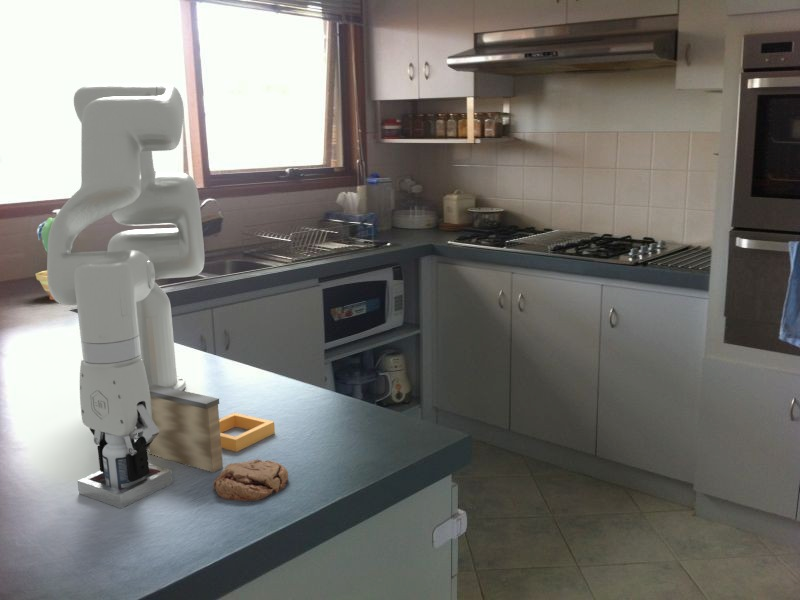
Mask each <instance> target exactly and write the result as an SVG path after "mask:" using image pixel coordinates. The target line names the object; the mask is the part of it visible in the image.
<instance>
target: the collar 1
mask: <svg viewBox="0 0 800 600" xmlns="http://www.w3.org/2000/svg"><path fill="white" fill-rule="evenodd" d="M172 472H173V471H172V469H169V468H167V467H166V468H165V467H163V466H159V465H155V464H152V463H149V474H148V475H146V476H145V479H144V480H142V481H140V482H137V483H135V484H133V485H131V486H129V487H127V488H125V489H123V490H119V489H116V488H113V487H110V486H107V485H106V480H105V472H101V471H100V470H99V471H96V472H94V473H91V474H90V475H87V476H85V477H82V478H80V479H78V480H77V486H78V494H79V495H81V496H85V497H87V498H90V499H93V500H96V501H99V502H101V503H104V504H107V505H110V506H113V507H115V508H118V509H123V508H125V507H127V506H130V505H131V504H133V503H135V502H137V501H139V500H141V499H143V498H146V497H148V496H149V495H151V494H154V493H155V492H157V491H160V490H162V489H164V488H165V487H166V488H167V487H168V486H170V485H172V484H173V483H174V481H173V473H172Z"/></svg>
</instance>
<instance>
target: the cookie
mask: <svg viewBox="0 0 800 600" xmlns="http://www.w3.org/2000/svg"><path fill="white" fill-rule="evenodd" d="M287 482H289V472H288V470H287V468H286V467H284V465H282V464H281V463H278V462H275V461H271V460H268V459H267V460H264V461H262V460H261V459H253V460H248V461H244V462H234V463H230V464H227V465H226V466H225V467H223V470H222V471H221V472H220V473H219V474H218V476H217V477H216V478H215V480H214V481H213V484H212V487H213V490H215V491H216V493H217V496H219V497H220V498H221V497H222V499H224V500H230V501H237V502H238V501H241V502H245V501H246V502H247V501H248V502H253V501H254V502H255V501H261V500H263V499H266V498H267V497H268V496H270V495H272V494H274V493H278V492H279V491H282V490H283V489H285V488H286V484H287Z"/></svg>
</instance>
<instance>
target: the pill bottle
mask: <svg viewBox="0 0 800 600" xmlns="http://www.w3.org/2000/svg"><path fill="white" fill-rule="evenodd" d="M136 435H137V434H135V435H132V436H133V439H134V442H136V441H137V439H136ZM105 440H106V442H107V443H108V444H107V445H106V446H105V447H104V448H103V451H102V453H103V464H104V472H105V480H106V485H107V486H110V487H113V488H116V489H119V490H123V489H125V488H127V487H129V486H131V485H133V484H135V483H137V482H140V481H142V480H144V479H145V476H144V477H142V478H140V479H138V480H136V481H133V482H131V481H129V480H128V472H127V463H126V454H129V452H128V448H127V445H126V442H125V439H124V437H119V436H115V435H111V434H108V433H105Z"/></svg>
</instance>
